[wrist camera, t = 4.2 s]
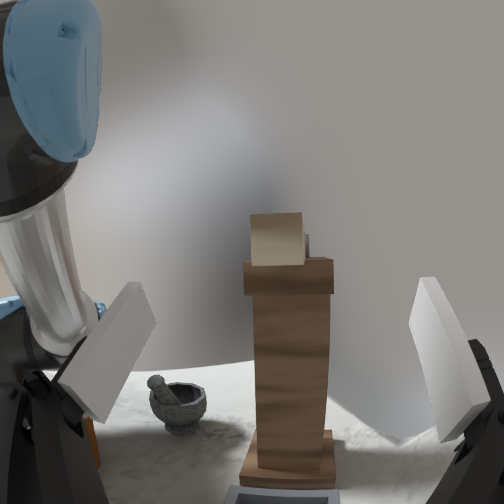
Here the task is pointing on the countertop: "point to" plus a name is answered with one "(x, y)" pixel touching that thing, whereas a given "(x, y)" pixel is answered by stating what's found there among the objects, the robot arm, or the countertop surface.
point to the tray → (280, 496)
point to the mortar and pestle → (177, 404)
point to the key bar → (278, 239)
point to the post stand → (290, 375)
